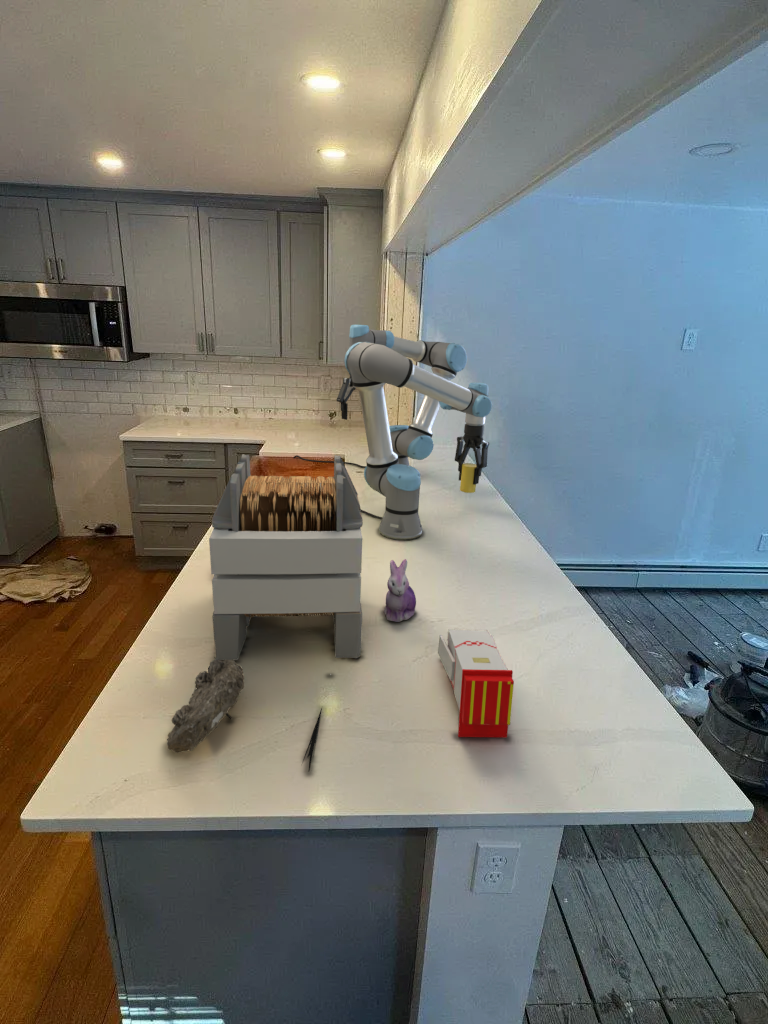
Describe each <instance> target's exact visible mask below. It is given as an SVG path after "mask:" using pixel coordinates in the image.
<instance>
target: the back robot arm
mask: <svg viewBox="0 0 768 1024" xmlns="http://www.w3.org/2000/svg"><path fill="white" fill-rule="evenodd" d="M348 340H349V342H348V343H349V345H348V346H349V347H348V349H349V348H350V347H351V346H352V345H353V344H355V343H358V342H370V343H374V344H380V345H384V346H386V347H388V348H390V349H392V350H394V351H395V352H397V353H399V354H401V355H403V356H405V357H407V358H409V359H411V360H412V361H413V362H416V363H420V364H421V365H422V364H423V365H425V366H428V367H431V368H430V369H431V373H434V374H436V375H438V376H440V377H442V378H445V379H447V380H449V381H452V380H453V379H456V377H457V374H458V373H459V372H462V371H463V370H464V369H465V368H466V366H467V362H468V354H467V351H466V349H465V347H464V346H463V345H461V344H458V343H455V342H445V341H444V342H442V341H425V340H420V339H419V340H417V341H415V340H411V339H407V338H403V337H398V336H395V335H394V333H393V332H392V330H385V329H384V330H382V329H381V330H379V329H370V327H369V325H366V324H351V325H350V327H349V336H348ZM348 375H349V378H348V377H343V379H342V385H341V387H340V389H339V392H338V394H337V398H336V402H338V403H340V411H341V419H342V420H346V421H347V420H348V410H349V409H348V405H349V403H348V401H349V399H350V397H351V395H352V394H353V392H354V391H355V390H357V389H356V388H355V387H354V386H353V381H352V376H351V374H350V373H349V372H348ZM440 408H441V406H440V404H439V401H438V400H435V399H433V398H431V397H428V396H426V395H424V394H423V398H422V400H421V403H420V405H419V408H418V410H417V413H416V416H415V417H414V418H415V419H414V421H413V423H411V424H409V425H407V424H393V425H389V429H390V435H391V442H392V449H393V452H394V453H396V454H397V455H398V460H399V464H404V465H407V466H411V464H410V461H409V458H410V459H411V460H416V461H422V460H425V459H427V458H428V457H429V456H430V455H431V454H432V452H433V449H434V445H435V444H434V439H432V437H433V435H434V434H433V431H432V429H433V426H434V425H435V421H436V420H437V419H436V418H437V416H438V413H439V412H440ZM296 458H298V459H300V460H302V461H306V462H313V463H321V464H322V463H323V464H334V460H319V459H318V460H316V459H309V458H303V457H302V456H300V455H294V456H293V458H292V459H296ZM343 463H344V465H350V466H351V465H352V466H355V467H358V468H362V469H365V467H366V466H367V465H366V466H365V465H361V464H358V463H355V462H349V461H343Z"/></svg>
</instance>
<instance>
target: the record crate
mask: <svg viewBox="0 0 768 1024" xmlns="http://www.w3.org/2000/svg"><path fill="white" fill-rule="evenodd" d="M333 461H334V463H333V469H334V470H333V476H327V477H325V476H321V475H319V476H314V477H313V476H311V475H309V476H307V475H290V476H283V475H279V476H278V475H265V476H264V475H259V476H258V475H251V459H250V454H243V453H242V454H241V456H240V459H239V461H238V462H237V464H236V466H235V469H234V471H233V473H232V474H231V475H230V478H229V479H228V482H227V484H226V486H225V489H224V491H223V493H222V496H221V498H220V500H219V502H218V504H217V507H216V508H215V511H214V513H213V516H212V518H211V527H212V528H213V529H212V531H211V534H210V535H209V538H208V543H209V559H210V574H211V575H213V576H212V579H211V587H212V588H211V589H212V600H213V601H212V603H213V612H212V629H213V630H212V631H213V640H214V649H215V657H214V660H217V661H224V660H227V659H228V660H231V659H232V660H234V661H238V660H239V658H240V654H241V653H242V649H243V647H244V645H245V642H246V640H247V636H248V632H247V630H248V629H247V627H249V626H250V624H251V623H250V622H251V618H253V617H254V618H255V617H258V618H259V617H264V618H265V617H267V618H268V617H292V616H293V617H308V616H310V617H311V616H333V618H332V619H333V626H334V627H333V636H334V638H333V639H334V640H333V641H334V658H337V659H342V658H344V659H345V658H347V659H349V658H352V659H358V658H359V657H361V656H362V633H363V632H362V631H363V630H362V629H363V611H362V603H361V590H362V576H361V574H362V563H363V562H362V561H363V534H362V529H361V528H362V527H363V525H364V524H363V523H364V519H363V515H362V512H361V510H362V509H361V505H360V499H359V494H358V492H357V489H356V487H355V485H354V483H353V481H352V478H351V477H350V474H349V472H348V470H347V468H346V466H345V465H346V464H344V463H343V462H344V461H343V459H342V456H341V455H336V454H334V458H333Z"/></svg>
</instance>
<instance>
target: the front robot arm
mask: <svg viewBox="0 0 768 1024" xmlns="http://www.w3.org/2000/svg"><path fill="white" fill-rule="evenodd" d="M343 362H344V367H345V369H346V371H347V373H348V374H349V373H350V374H351V376H352V381H353V386H354V387H355V388H356V389H355V390H357V391H358V397H359V401H360V407H361V413H362V419H363V425H364V431H365V437H366V443H367V449H368V456H367V458H366V459H365V463H366V467H365V468H364V470H363V477H364V480H365V482H366V485H368V486H369V487H370V489H372V490H374V491H375V492H377V493H379V494H380V495H382V496H383V497H385V504H384V505H385V507H384V508H385V509H384V513H383V515H382V516H379V515H376V514H373V513H370V512H369V511H365V510H363V509H361V513H363V514H365V515H368V516H370V517H373V518H375V519H379V520H381V522H379V527H378V533H379V534H380V535H381V536H382V537H385V538H387V539H389V540H395V541H410V540H415V539H418V538H420V537H421V536H422V535H423V525H422V524H421V518H420V515H419V507H420V506H419V505H420V494H421V493H420V492H421V484H422V481H421V473H420V471H419V470H418V469H417V468H416V467H414V466H412V465H410V466H407V465H404V464H399V460H398V455H397V454H396V453H394V452H393V449H392V442H391V435H390V429H389V426H390V421H389V416H388V415H389V414H388V409H387V402H386V394H385V390H384V386H385V384H387V385H390V386H394V387H396V388H399V389H401V388H404V387H405V388H407V389H409V390H412V391H413V392H417V393H419V394H421V395H423V396H424V395H426V396H428V397H431V398H433V399H435V400H438V401H439V404H440V408H441V409H443V410H447V411H451V410H454V411H458V412H460V413H465V418H464V422H465V424H464V429H463V434H464V435H463V436H462V435H461V436H457V437H456V443H457V444H456V450H455V455H454V462H457V463H458V467H457V471H458V481H460V482H461V473H462V464H464V463H466V462H465V461H466V459H467V457H468V454H469V452H470V450H471V449H472V452H473V453H474V459H475V464H476V466H477V467H476V468H475V471H474V480H473V484H474V485H475V484H476V485H478V484H479V482H480V477H482V472H483V471H482V470H483V469H484V468H487V467H488V453H489V452H488V450H489V446H490V442H489V441H485V440H484V437H483V436H484V434H485V423H486V417H487V416H488V415H489V414H490V413H491V411H492V407H493V403H492V400H491V398H490V397H489V385H488V384H487V383H484V382H475V381H473V382H469V384H468V387H467V388H466V387H465V386H462V385H460V384H458V383H456V382H453V381H452V380H450V381H449V380H447V379H445V378H442V377H440V376H438V375H436V374H434V373H433V372H432V371H429V370H427V369H424V368H422V367H420V366H418V365H416V364H414V360H413V359H412V358H408V357H405V356H403V355H401V354H399V353H397V352H395V351H394V350H392V349H390V348H388V347H386V346H384V345H380V344H374V343H370V342H358V343H355V344H353V345H352V346H351V347H350V348H349V347H348V350H347V351H346V352H345V355H344V361H343Z"/></svg>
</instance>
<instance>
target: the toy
mask: <svg viewBox="0 0 768 1024" xmlns="http://www.w3.org/2000/svg"><path fill="white" fill-rule="evenodd" d="M446 640H447V643H446V641H445V639H444V636H443V635H442V634H439V637H438V646H437V656H438V657H439V659H440V661H441V663H442V666H443V668H444V670H445V672H446V674H447V677H448V679H449V681H450V684H451V687H452V690H453V693H454V697H455V701H456V705H457V708H458V711H459V714H458V715H459V716H458V730H457V731H458V732H457V737H458V738H508V731H509V726H510V725H511V717H512V707H513V697H514V696H513V695H514V684H515V680H514V679H513V673H514V671H513V670H512V669H508V667H507V665H506V662H505V661H504V659H503V658H502V655H501V653H500V651H499V649H498V647H497V643H496V639H495V637H494V635H493V634H491V632H490V631H489V629H467V628H466V629H465V628H463V629H461V628H460V629H459V628H448V630H447V639H446Z"/></svg>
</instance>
